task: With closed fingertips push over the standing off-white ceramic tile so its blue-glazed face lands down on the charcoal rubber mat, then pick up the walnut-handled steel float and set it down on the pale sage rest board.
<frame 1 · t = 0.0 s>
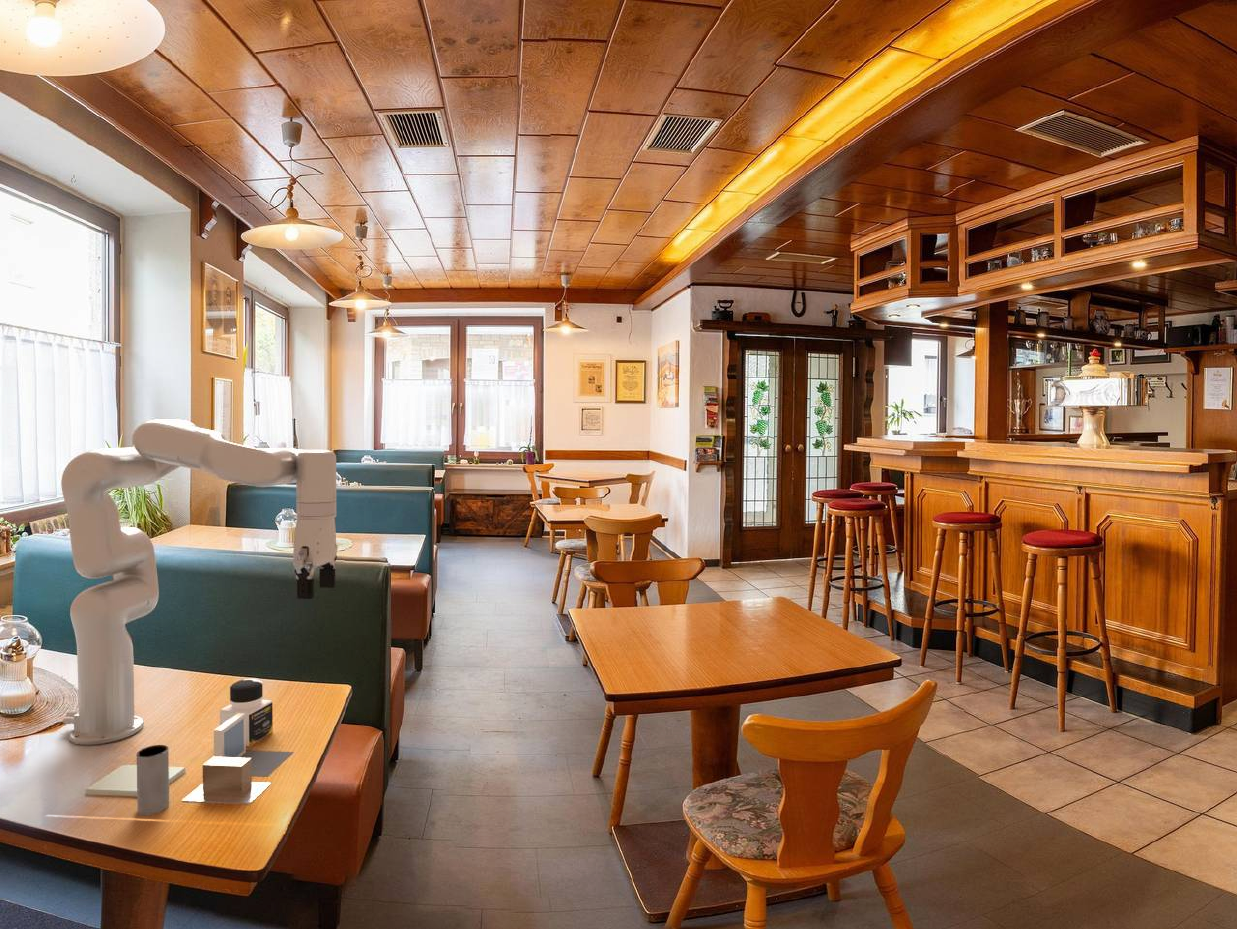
hand: (316, 592, 147), 31 cm above the table, fingers open, 9 cm apart
float: (227, 795, 127), on the table
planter: (153, 810, 122), on the table
tile: (230, 761, 139), resting on mat
mat: (250, 764, 138), on the table
rest board: (137, 784, 130), on the table
medicine bottle: (246, 739, 150), on the table
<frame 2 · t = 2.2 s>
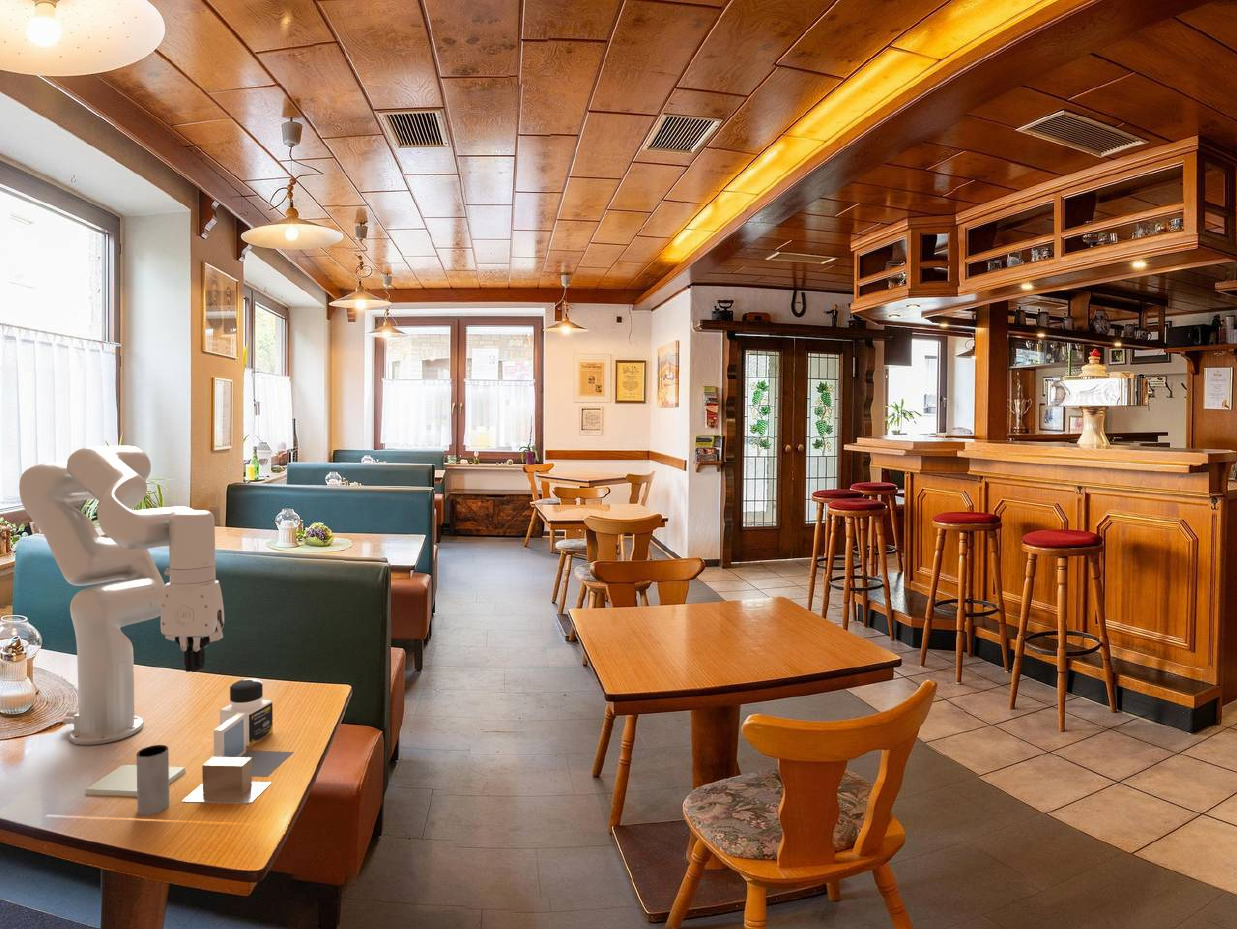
hand: (194, 669, 138), 18 cm above the table, fingers closed
nothing on the table moved.
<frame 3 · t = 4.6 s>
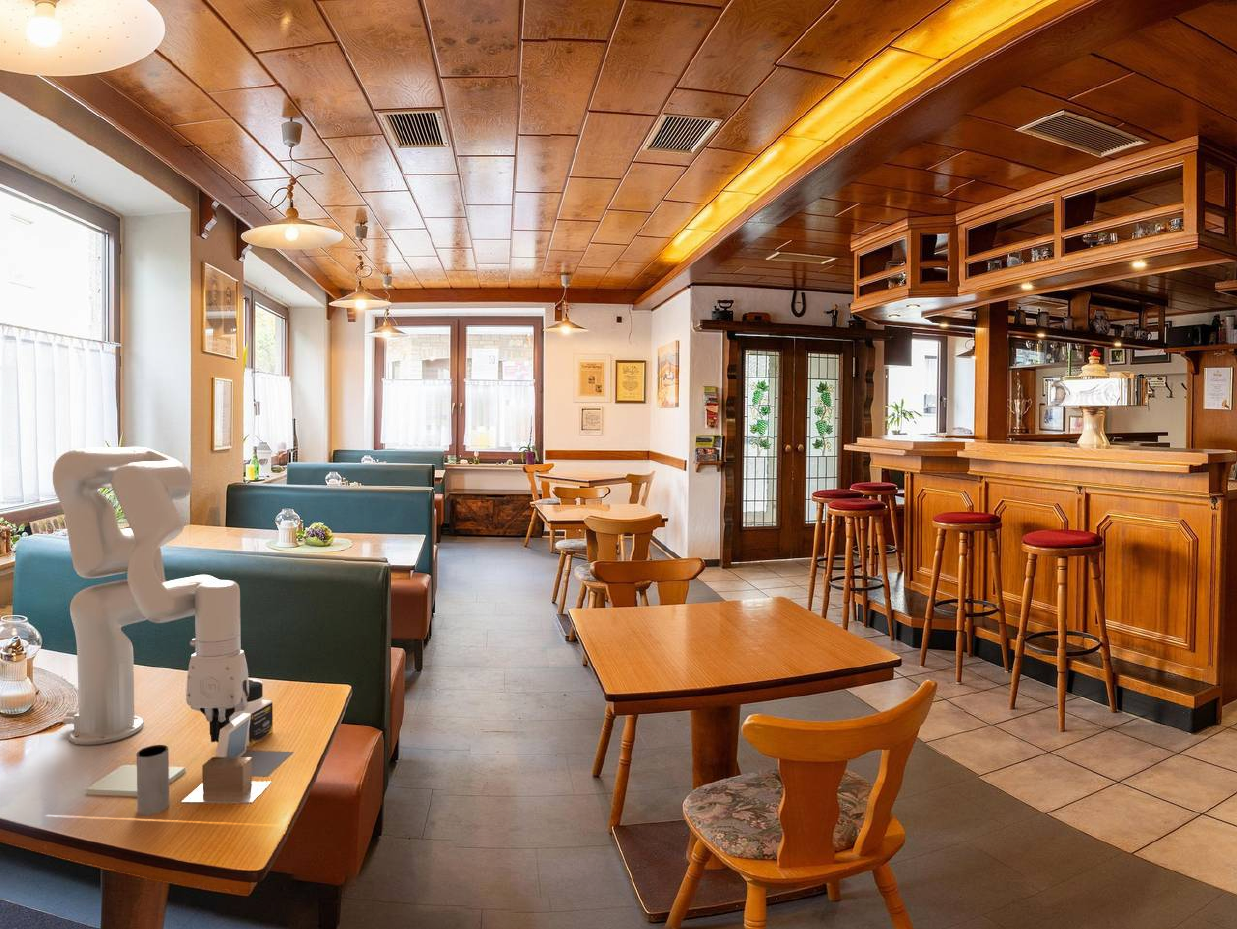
hand: (219, 739, 138), 5 cm above the table, fingers closed
tile: (230, 761, 139), resting on mat, tilted 8°
everything else where it was.
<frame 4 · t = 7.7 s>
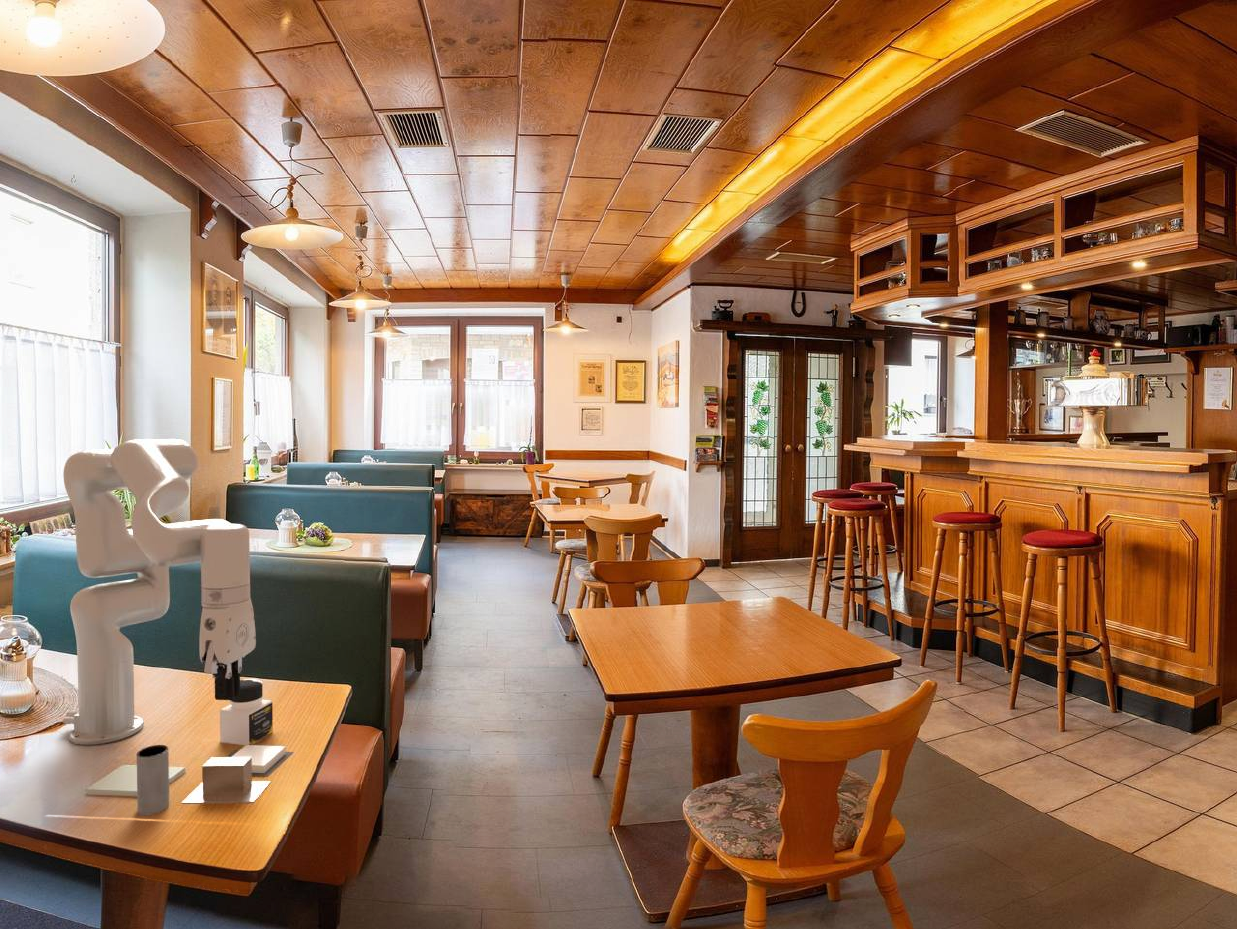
hand: (227, 697, 127), 18 cm above the table, fingers closed
tile: (234, 757, 139), point 1 cm above the table, tilted 90°, touching mat
everything else where it was.
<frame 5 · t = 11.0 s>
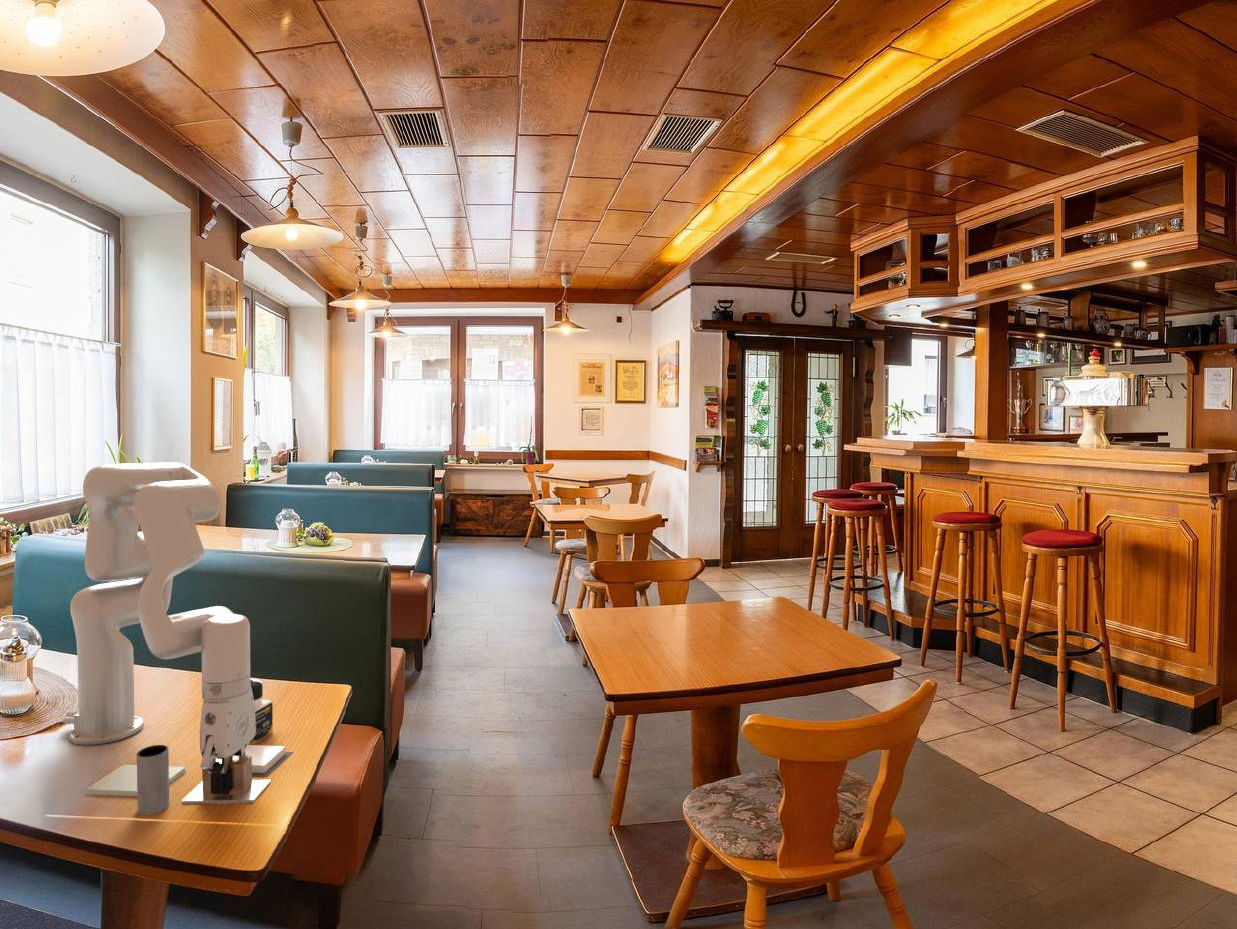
hand: (227, 786, 127), 1 cm above the table, fingers closed on float, 3 cm apart
float: (227, 794, 127), on the table, touching gripper
everything else where it was.
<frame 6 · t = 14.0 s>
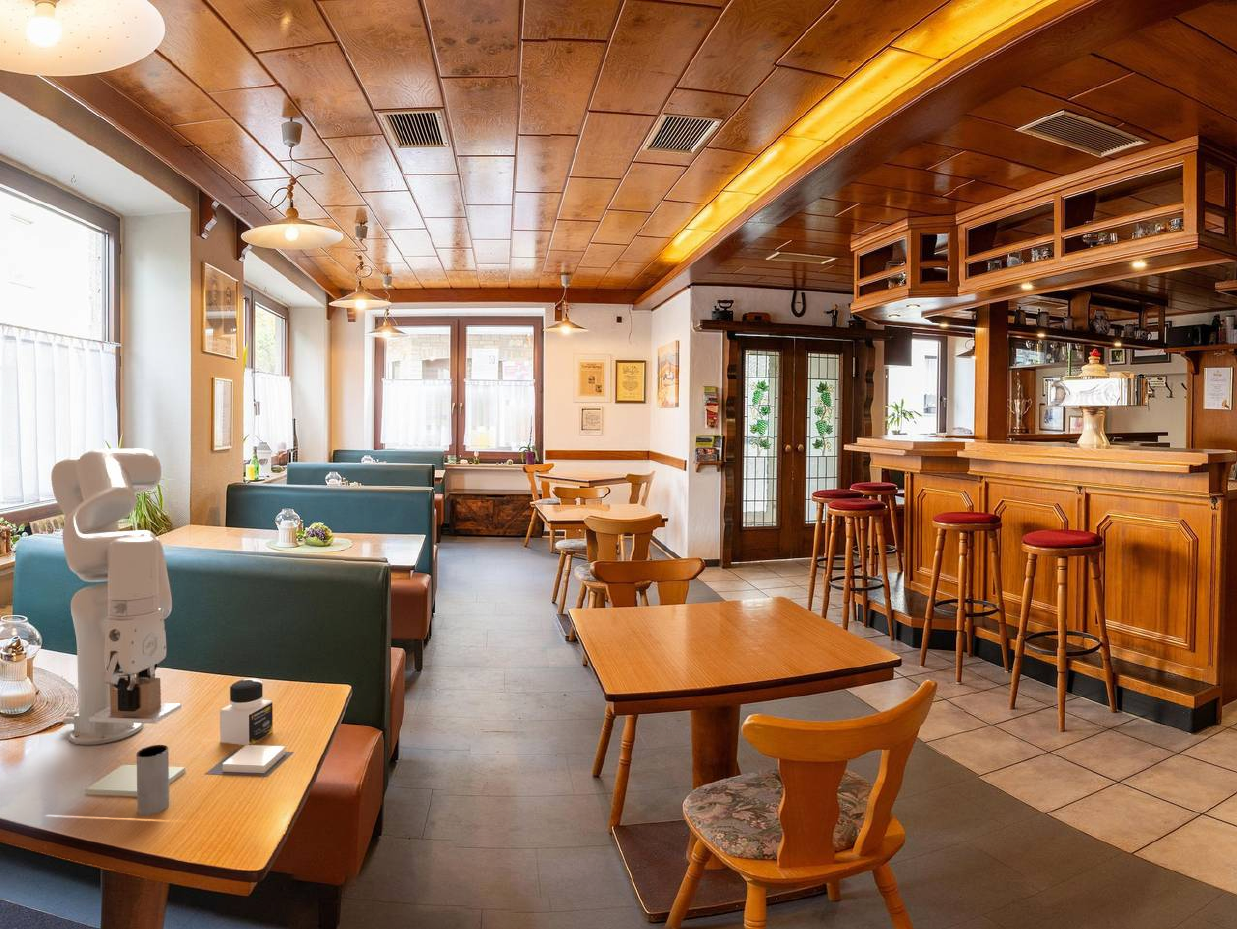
hand: (135, 705, 129), 15 cm above the table, fingers closed on float, 3 cm apart
float: (136, 714, 129), point 13 cm above the table, touching gripper
everything else where it was.
when the fingers open (4 cm above the table, at t = 16.5 s): float stays where it is, resting on rest board.
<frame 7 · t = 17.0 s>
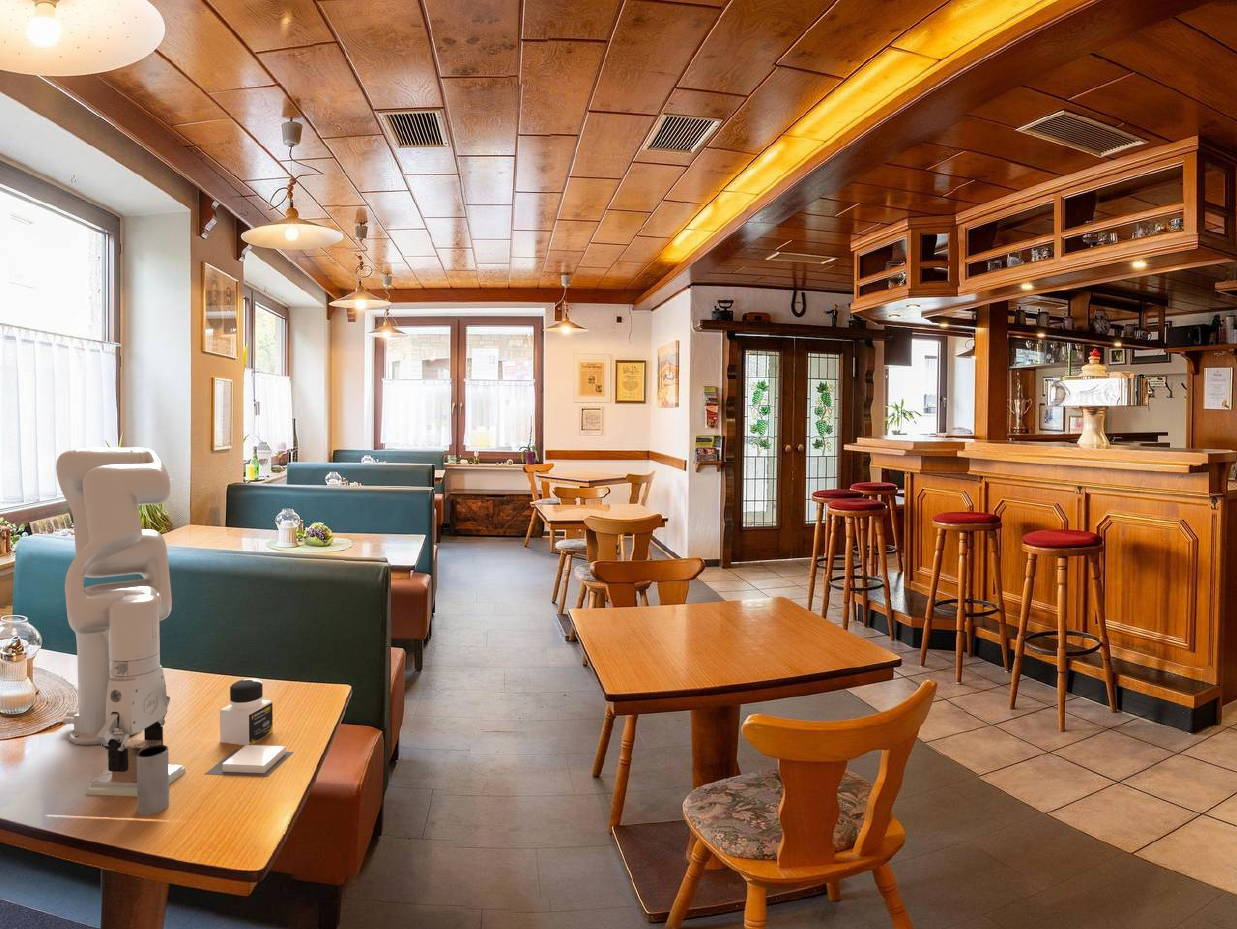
hand: (136, 758, 130), 5 cm above the table, fingers open, 8 cm apart
float: (137, 777, 130), point 1 cm above the table, touching rest board
everything else where it was.
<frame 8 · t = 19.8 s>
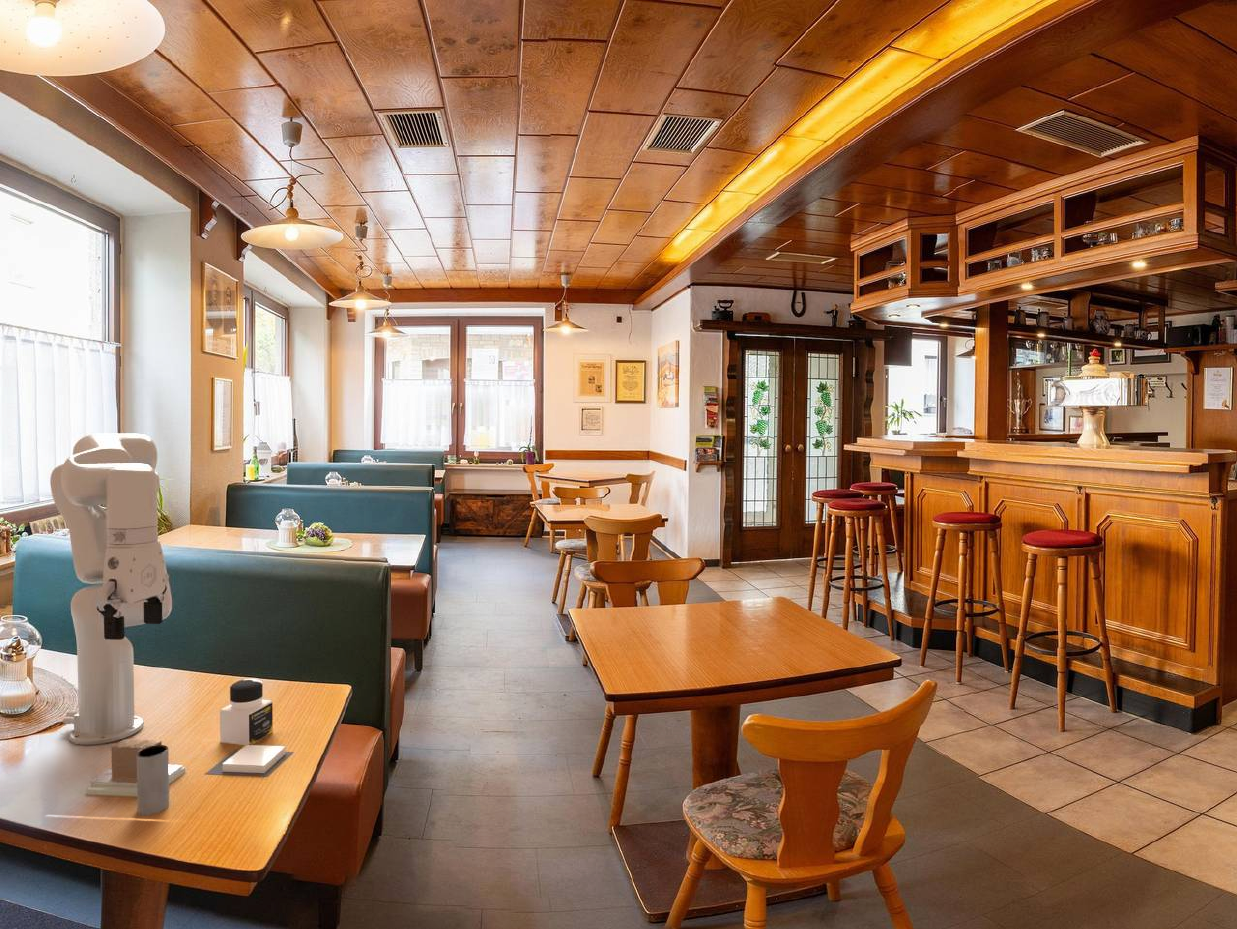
hand: (134, 630, 128), 28 cm above the table, fingers open, 9 cm apart
nothing on the table moved.
at the end: tile tilted 90°; tile inside the target area (3.7 cm from its centre), point 1.1 cm above the table; float inside the target area on the rest board (0.1 cm from its centre), point 1.2 cm above the rest board's base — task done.
